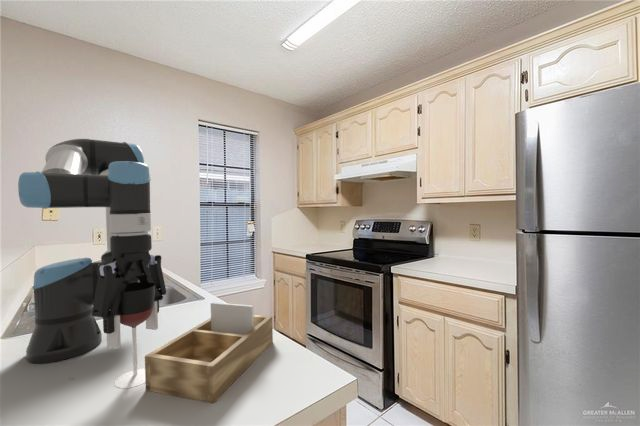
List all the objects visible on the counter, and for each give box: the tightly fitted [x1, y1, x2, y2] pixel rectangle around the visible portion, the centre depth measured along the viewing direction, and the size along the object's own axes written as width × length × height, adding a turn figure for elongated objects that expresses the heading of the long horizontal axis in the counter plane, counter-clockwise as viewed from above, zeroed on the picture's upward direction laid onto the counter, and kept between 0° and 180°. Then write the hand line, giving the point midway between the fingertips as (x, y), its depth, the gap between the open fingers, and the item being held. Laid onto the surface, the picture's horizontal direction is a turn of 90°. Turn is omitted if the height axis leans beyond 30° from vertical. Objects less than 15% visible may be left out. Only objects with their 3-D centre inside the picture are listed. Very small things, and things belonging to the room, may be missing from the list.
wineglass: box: [114, 282, 155, 389], centre depth 64 cm, size 8×9×20 cm
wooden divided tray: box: [144, 314, 274, 404], centre depth 70 cm, size 16×26×7 cm, turn 164°
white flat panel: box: [210, 301, 255, 335], centre depth 76 cm, size 12×1×11 cm, turn 74°
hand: (134, 337), depth 64 cm, fingers open, 9 cm apart
